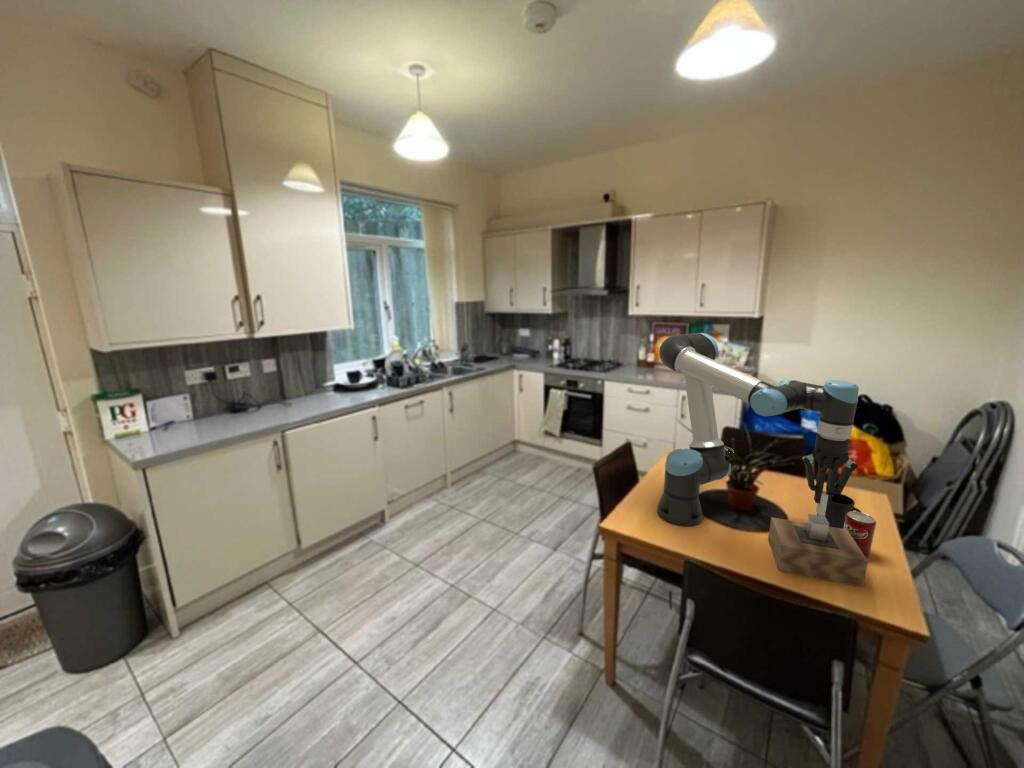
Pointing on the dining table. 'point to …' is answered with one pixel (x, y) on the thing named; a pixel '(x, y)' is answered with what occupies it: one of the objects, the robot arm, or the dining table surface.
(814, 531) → the peg
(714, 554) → the dining table surface
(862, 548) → the soda can
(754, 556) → the dining table surface
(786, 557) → the socket block
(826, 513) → the mug
